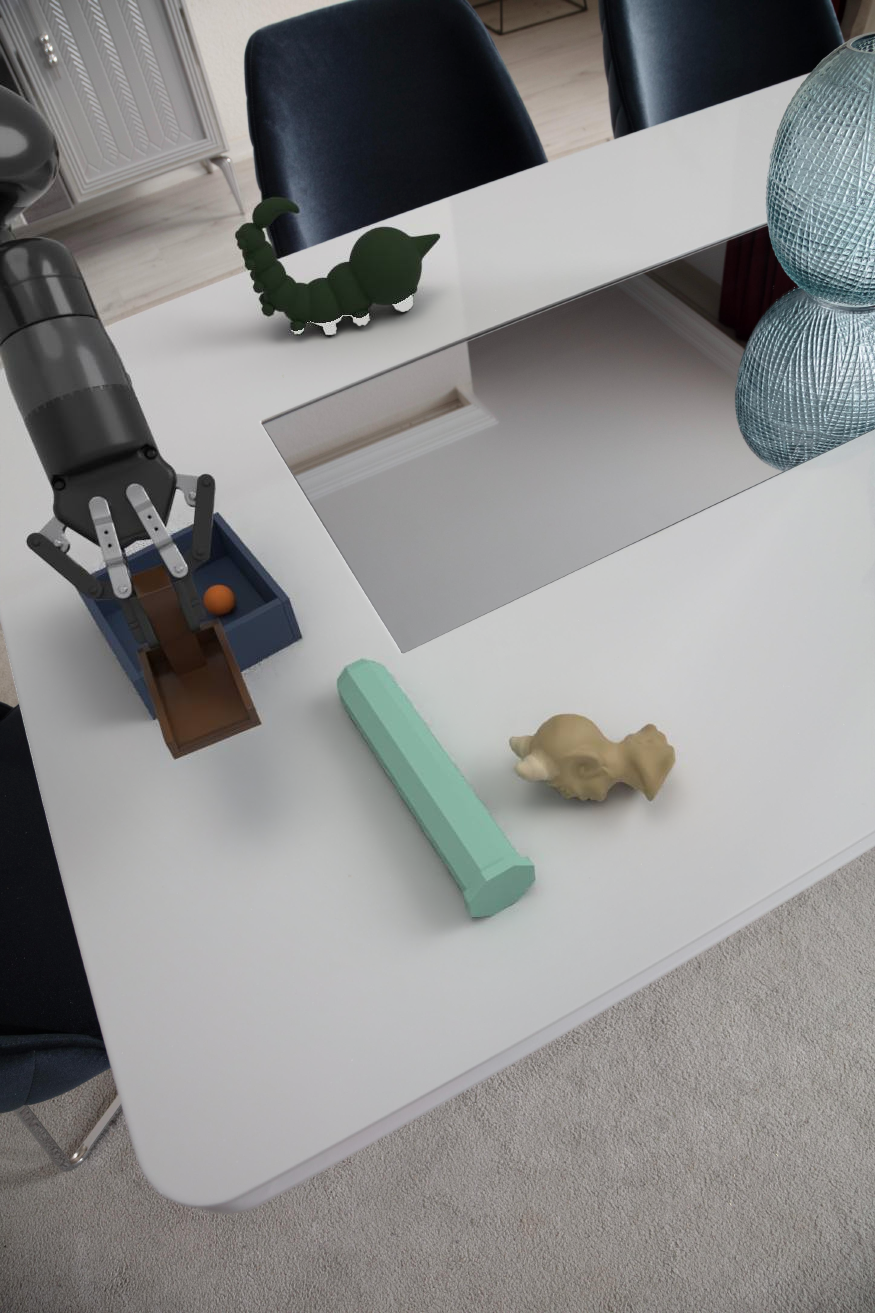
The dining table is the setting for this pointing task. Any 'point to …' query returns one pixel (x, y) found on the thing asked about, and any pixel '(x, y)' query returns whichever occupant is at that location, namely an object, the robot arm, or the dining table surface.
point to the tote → (249, 627)
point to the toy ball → (219, 600)
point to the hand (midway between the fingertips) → (176, 638)
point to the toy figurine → (333, 271)
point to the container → (435, 791)
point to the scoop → (190, 672)
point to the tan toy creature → (592, 758)
